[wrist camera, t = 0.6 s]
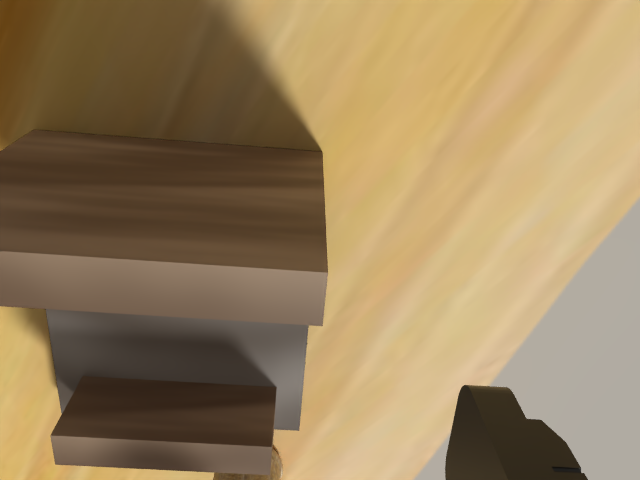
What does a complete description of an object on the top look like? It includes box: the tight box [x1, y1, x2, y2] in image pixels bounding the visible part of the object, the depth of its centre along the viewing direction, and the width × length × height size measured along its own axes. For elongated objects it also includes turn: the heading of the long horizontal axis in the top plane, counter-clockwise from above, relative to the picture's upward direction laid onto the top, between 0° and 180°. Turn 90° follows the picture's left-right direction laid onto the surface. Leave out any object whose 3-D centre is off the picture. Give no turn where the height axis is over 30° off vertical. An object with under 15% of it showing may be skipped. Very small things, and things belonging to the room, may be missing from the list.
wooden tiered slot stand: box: [0, 130, 328, 475], centre depth 27 cm, size 17×14×12 cm
